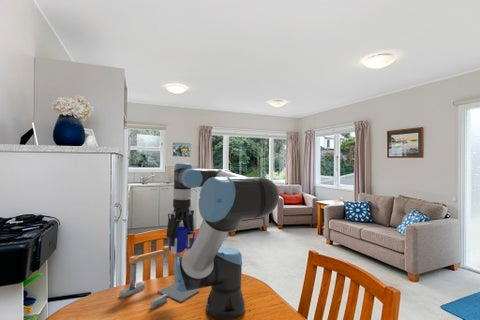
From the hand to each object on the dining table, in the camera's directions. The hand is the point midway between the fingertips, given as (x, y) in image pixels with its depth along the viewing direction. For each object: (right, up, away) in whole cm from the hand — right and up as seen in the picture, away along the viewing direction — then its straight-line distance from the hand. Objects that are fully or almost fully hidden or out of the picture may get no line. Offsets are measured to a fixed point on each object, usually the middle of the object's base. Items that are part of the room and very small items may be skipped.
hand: (180, 250), depth 114 cm
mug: (0, -1, 0) cm, 1 cm away
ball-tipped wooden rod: (-15, -5, +4) cm, 16 cm away
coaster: (-1, -18, 0) cm, 18 cm away
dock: (-13, -17, -6) cm, 23 cm away
